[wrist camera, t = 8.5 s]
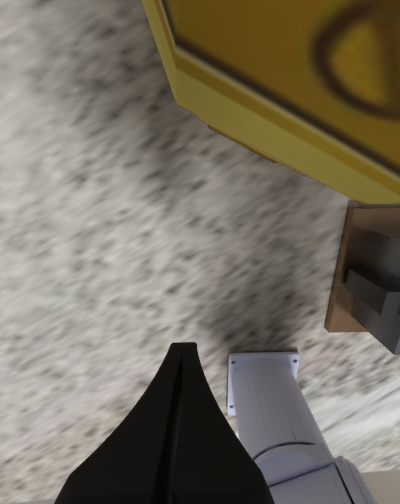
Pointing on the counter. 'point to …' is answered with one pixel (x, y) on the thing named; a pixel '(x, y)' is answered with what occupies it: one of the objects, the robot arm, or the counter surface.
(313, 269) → the counter surface
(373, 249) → the knob box on board
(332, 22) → the container
